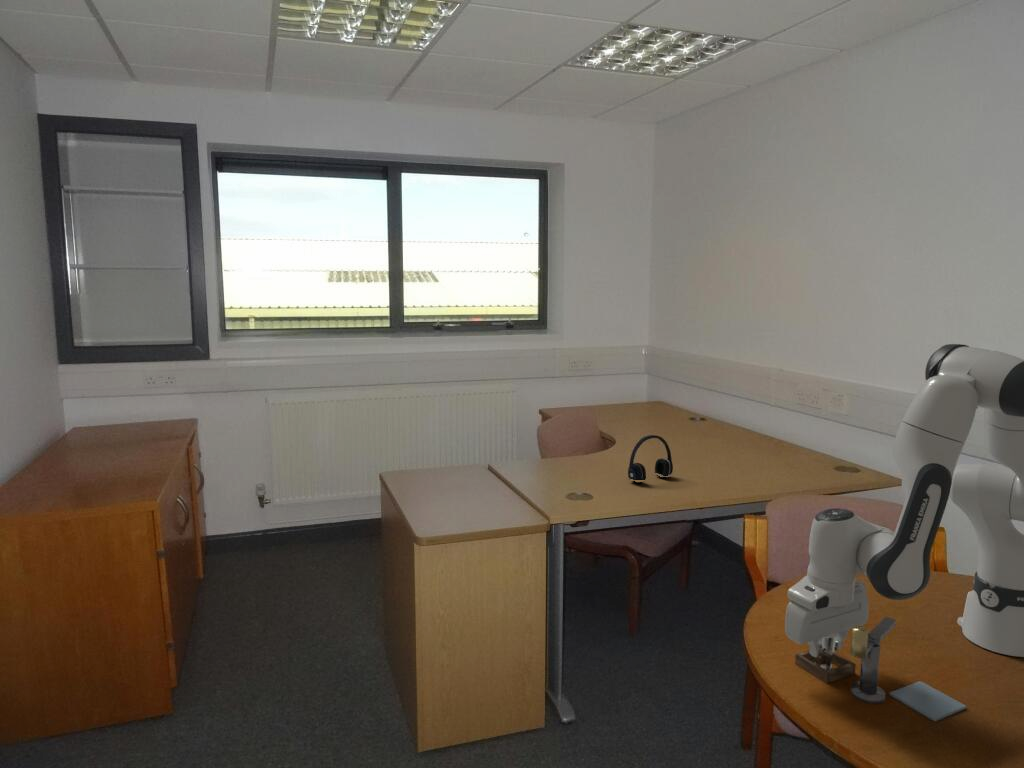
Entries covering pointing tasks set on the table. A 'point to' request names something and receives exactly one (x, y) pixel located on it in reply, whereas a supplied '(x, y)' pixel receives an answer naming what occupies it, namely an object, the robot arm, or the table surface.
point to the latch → (869, 637)
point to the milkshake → (826, 651)
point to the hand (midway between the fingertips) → (826, 652)
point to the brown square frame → (827, 676)
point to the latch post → (869, 679)
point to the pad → (927, 701)
